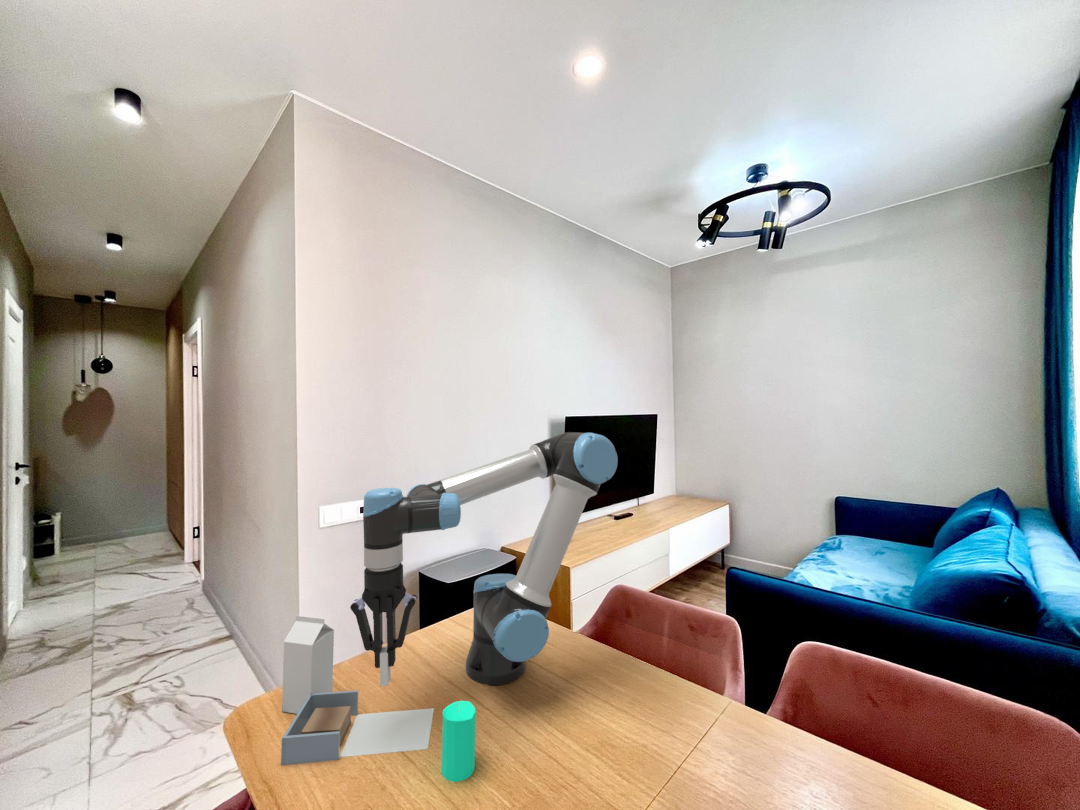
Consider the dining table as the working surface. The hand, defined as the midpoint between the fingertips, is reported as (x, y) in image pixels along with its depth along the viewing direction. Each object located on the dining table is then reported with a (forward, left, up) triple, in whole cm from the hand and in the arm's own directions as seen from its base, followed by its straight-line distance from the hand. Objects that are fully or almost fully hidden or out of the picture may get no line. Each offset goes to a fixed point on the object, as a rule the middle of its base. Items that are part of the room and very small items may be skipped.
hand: (385, 681), depth 89 cm
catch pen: (+12, 0, -10) cm, 15 cm away
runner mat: (-1, 0, -10) cm, 10 cm away
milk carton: (+19, -11, -10) cm, 24 cm away
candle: (-15, +12, -10) cm, 22 cm away
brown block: (+11, 0, -10) cm, 15 cm away
